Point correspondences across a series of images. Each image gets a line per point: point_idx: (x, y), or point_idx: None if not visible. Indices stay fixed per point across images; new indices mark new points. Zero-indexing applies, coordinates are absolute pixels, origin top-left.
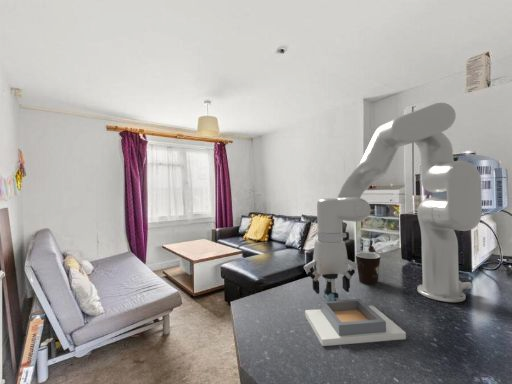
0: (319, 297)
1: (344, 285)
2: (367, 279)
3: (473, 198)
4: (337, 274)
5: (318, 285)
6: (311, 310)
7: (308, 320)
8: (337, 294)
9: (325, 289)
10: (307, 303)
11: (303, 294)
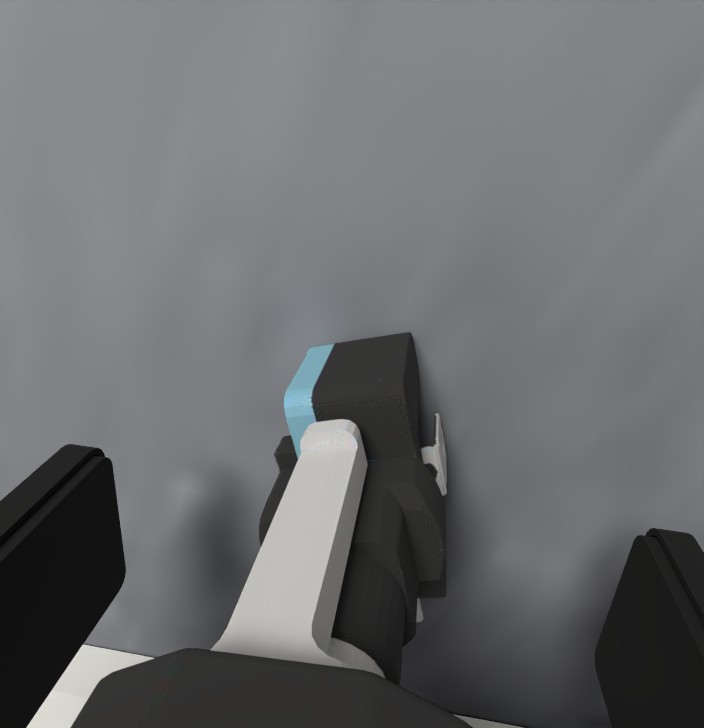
0: (249, 319)
1: (642, 677)
2: None
3: None
4: None
5: (25, 707)
6: None
7: None
8: (430, 593)
9: (265, 510)
10: (50, 434)
11: (26, 142)
